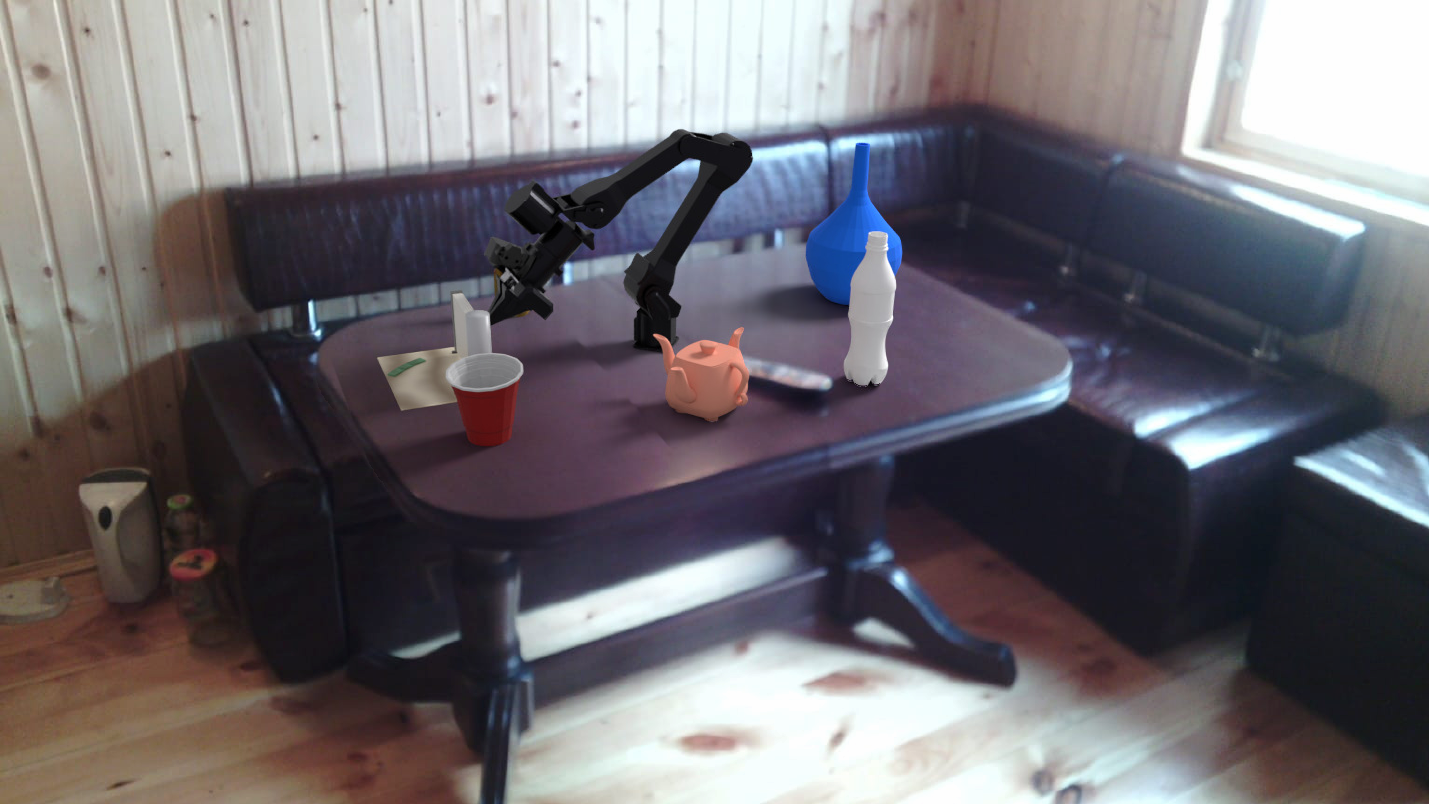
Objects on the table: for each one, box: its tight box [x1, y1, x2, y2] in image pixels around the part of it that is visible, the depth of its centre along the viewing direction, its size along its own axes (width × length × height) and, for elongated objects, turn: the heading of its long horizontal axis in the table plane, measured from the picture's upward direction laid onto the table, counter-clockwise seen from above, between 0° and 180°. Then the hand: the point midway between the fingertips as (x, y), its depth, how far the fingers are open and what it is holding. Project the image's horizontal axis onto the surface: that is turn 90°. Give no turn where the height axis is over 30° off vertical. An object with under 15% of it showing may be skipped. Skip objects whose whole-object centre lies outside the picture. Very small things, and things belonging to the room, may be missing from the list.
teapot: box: [653, 326, 750, 422], centre depth 177 cm, size 14×14×11 cm
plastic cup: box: [446, 352, 524, 447], centre depth 165 cm, size 11×11×12 cm
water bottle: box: [843, 231, 897, 386], centre depth 185 cm, size 7×7×25 cm
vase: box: [805, 142, 903, 306], centre depth 219 cm, size 18×18×30 cm
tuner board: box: [376, 346, 461, 412], centre depth 185 cm, size 16×21×2 cm
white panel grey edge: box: [449, 289, 493, 359], centre depth 183 cm, size 17×4×12 cm, turn 24°
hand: (486, 323), depth 187 cm, fingers closed
